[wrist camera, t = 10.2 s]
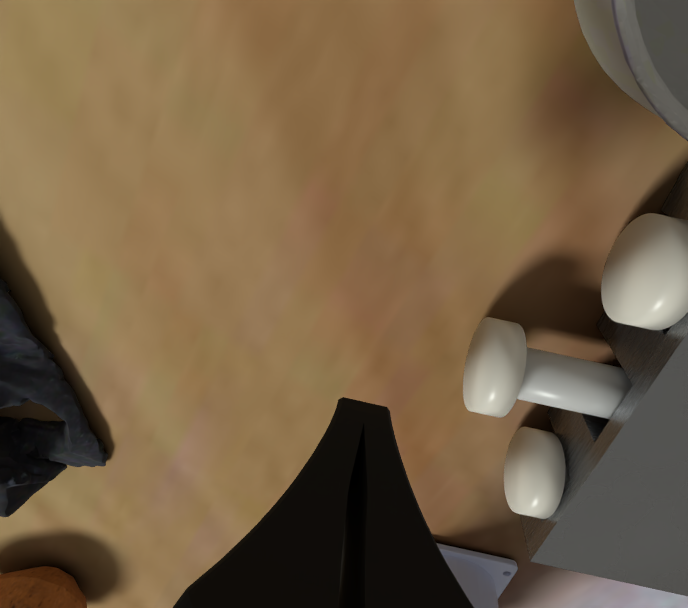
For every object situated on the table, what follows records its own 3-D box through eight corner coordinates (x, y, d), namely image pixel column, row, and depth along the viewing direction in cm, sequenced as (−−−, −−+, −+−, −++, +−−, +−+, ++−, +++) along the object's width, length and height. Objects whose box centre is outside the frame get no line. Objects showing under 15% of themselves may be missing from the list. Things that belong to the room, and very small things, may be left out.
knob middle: (628, 406, 23) (667, 475, 19) (459, 369, 23) (468, 431, 19) (673, 339, 21) (725, 403, 17) (487, 299, 21) (502, 355, 17)
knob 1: (649, 495, 26) (686, 569, 22) (498, 463, 26) (512, 531, 22) (690, 445, 24) (738, 517, 20) (527, 409, 24) (546, 476, 20)
